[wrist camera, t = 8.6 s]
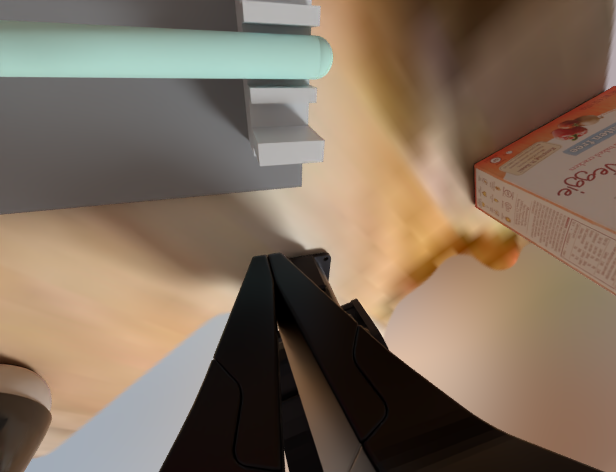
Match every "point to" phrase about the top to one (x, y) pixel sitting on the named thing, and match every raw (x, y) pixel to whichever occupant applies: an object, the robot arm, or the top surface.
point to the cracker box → (561, 188)
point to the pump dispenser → (22, 416)
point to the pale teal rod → (156, 52)
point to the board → (154, 115)
